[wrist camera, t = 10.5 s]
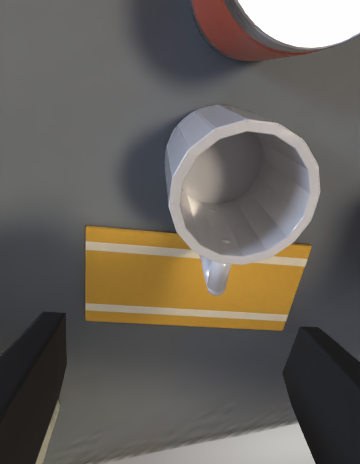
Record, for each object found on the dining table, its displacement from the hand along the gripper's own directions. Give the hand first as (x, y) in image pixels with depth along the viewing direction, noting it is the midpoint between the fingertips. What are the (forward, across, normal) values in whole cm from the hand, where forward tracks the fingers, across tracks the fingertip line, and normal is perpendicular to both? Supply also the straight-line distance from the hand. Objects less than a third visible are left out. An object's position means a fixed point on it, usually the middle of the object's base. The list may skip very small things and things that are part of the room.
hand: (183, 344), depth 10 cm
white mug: (+10, -2, -2) cm, 11 cm away
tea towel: (+10, -2, +5) cm, 11 cm away
